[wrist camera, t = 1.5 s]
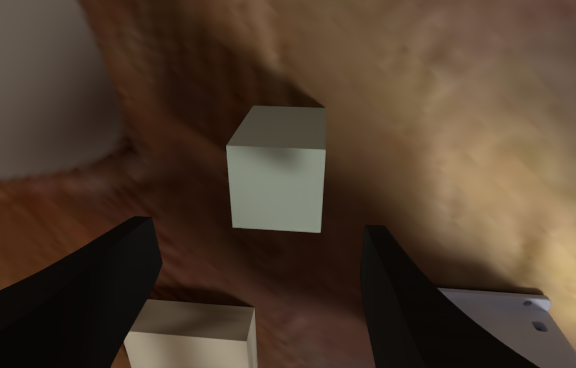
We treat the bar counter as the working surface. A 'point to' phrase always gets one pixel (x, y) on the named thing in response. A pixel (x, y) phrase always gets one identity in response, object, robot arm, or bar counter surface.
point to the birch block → (192, 336)
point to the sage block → (278, 169)
